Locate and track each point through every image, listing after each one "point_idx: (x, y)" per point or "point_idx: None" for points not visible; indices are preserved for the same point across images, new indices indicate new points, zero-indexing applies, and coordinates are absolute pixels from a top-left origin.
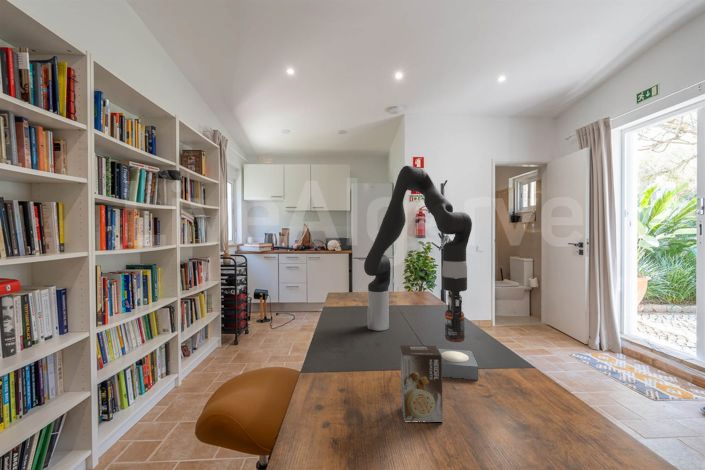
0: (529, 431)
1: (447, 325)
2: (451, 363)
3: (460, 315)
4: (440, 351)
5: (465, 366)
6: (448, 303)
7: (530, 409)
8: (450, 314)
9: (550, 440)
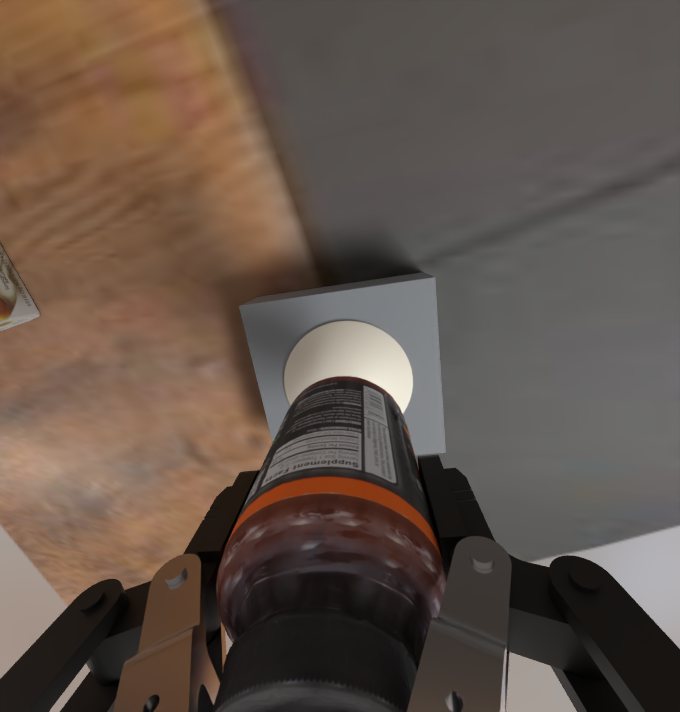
0: (82, 515)
1: (275, 448)
2: (266, 370)
3: (85, 686)
4: (398, 313)
5: (268, 422)
6: (415, 702)
7: (178, 535)
8: (221, 571)
9: (74, 543)
